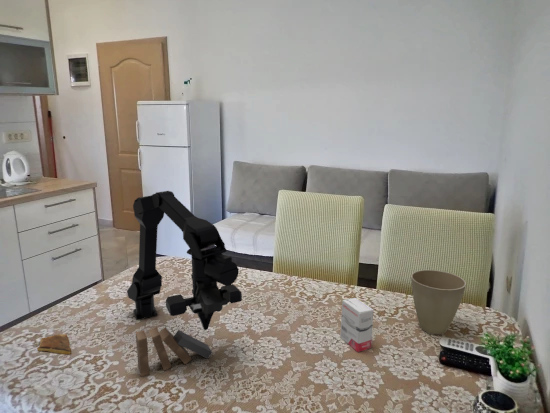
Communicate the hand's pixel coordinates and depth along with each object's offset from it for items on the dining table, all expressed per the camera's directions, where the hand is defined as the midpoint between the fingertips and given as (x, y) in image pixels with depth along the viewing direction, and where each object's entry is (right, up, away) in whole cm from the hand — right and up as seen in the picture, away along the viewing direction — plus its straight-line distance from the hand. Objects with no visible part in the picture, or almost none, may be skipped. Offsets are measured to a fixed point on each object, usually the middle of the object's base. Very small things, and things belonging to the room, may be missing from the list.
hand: (205, 329), depth 106 cm
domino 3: (-5, -7, -1) cm, 9 cm away
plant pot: (+66, -5, +16) cm, 68 cm away
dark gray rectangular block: (0, -7, +2) cm, 7 cm away
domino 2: (-9, -8, -3) cm, 13 cm away
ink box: (+41, -6, +8) cm, 42 cm away
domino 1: (-14, -9, -5) cm, 18 cm away
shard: (-41, -7, +6) cm, 42 cm away
